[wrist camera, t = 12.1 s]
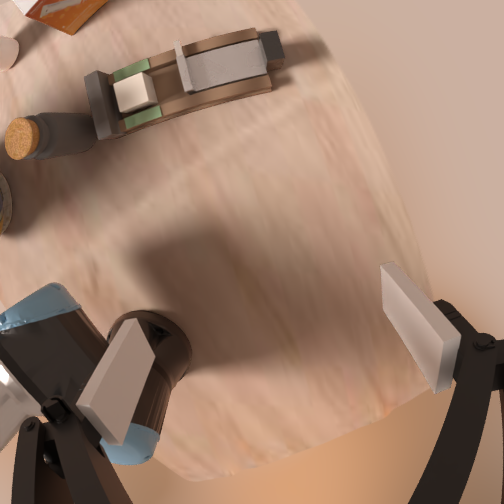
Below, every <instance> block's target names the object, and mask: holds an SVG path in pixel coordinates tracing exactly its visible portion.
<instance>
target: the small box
mask: <svg viewBox="0 0 504 504" xmlns="http://www.w3.org/2000/svg"><path fill="white" fill-rule="evenodd" d="M107 1H108V0H13V2H14V3H15V4H16V5H17V7H18V8H19V9H20V10H21V12H22V13H23V14H24V16H27V17H29V18H31V19H34V20H36V21H39V22H41V23H43V24H46V25H48V26H50V27H53V28H55V29H57V30H59V31H62V32H64V33H66V34H69V35H71V36H72V35H73V34H74V33H75V32H76V31H77V30H78V29H79V28H80V27H81V26H82V25H83V24H84V23H85V22H86V21H87V20H88V19H89V18H90V17H91V16H92V15H93V14H94V13H95V12H96V11H97V10H98V9H99V8H100V7H101V6H103V5H104V4H105V3H106V2H107Z"/></svg>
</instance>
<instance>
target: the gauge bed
mask: <svg viewBox="0 0 504 504" xmlns="http://www.w3.org/2000/svg"><path fill="white" fill-rule="evenodd" d="M253 40H258V36H257V33H256V29H255V28H250V29H245V30H241V31H236V32H232V33H228V34H224V35H220V36H216V37H213V38H209V39H205V40H202V41H198V42H195V43H192V44H189V45H185V46H182V49H183V53H184V55H185V56H186V58H188V57H191V56H195V55H198V54H201V53H205V52H208V51H212V50H215V49H219V48H223V47H227V46H231V45H235V44H239V43H244V42H248V41H253ZM176 57H177V56H176V52H175V49H173V50H170V51H167V52H164V53H162V54H159V55H156V56H153V57H151V58H147V59H144V60H142V61H139V62H137V63H134V64H132V65H129V66H127V67H125V68H122V69H120V70H118V71H116V72H113V73H112V74H110V75H109V74H106V73H103V72H100V71H95V72H93V73H91V74H89V75H87V76H85V77H84V80H85V85H86V90H87V94H88V99H89V103H90V108H91V112H92V116H93V120H94V124H95V128H96V132H97V136H98V140H104V139H117V138H120V137H122V136H125V135H127V134H130V133H133V132H135V131H138V130H141V129H143V128H146V127H149V126H152V125H154V124H157V123H160V122H163V121H166V120H169V119H172V118H175V117H178V116H181V115H184V114H187V113H191V112H194V111H197V110H201V109H204V108H207V107H211V106H215V105H218V104H222V103H226V102H229V101H233V100H237V99H241V98H245V97H250V96H254V95H258V94H263V93H267V92H271V91H272V90H271V87H272V85H271V81H270V77H269V75H267V76H262V77H257V78H253V79H249V80H244V81H240V82H236V83H232V84H228V85H224V86H221V87H217V88H213V89H210V90H206V91H203V92H200V93H196V94H193V95H189V94H188V93H186V92H185V91H184V87H183V83H182V80H181V76H180V72H179V68H178V64H177V60H176ZM141 72H143V73H144V74H146V75H148V76H150V77H152V81H153V85H154V89H155V93H156V97H157V101H158V104H156V105H153V106H150V107H147V108H145V109H142V110H139V111H137V112H134V113H132V114H131V113H123V112H120V111H119V107H118V102H117V98H116V94H115V90H114V85H113V84H114V83H117V82H119V81H121V80H124V79H126V78H128V77H131V76H133V75H136V74H138V73H141Z"/></svg>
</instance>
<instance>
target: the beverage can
mask: <svg viewBox="0 0 504 504" xmlns="http://www.w3.org/2000/svg"><path fill="white" fill-rule="evenodd" d="M18 52H19V44H18V42H17V41H16V40H15V39H12V38H8V37H4V36H0V72H4V71H6V70H8V69H9V68H10V67H11V66H12V65H13V64H14V62H15V60H16V58H17V56H18Z"/></svg>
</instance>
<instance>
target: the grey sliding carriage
mask: <svg viewBox="0 0 504 504" xmlns="http://www.w3.org/2000/svg"><path fill="white" fill-rule="evenodd" d="M173 44H174V48H175V52H176V56H177V57H176V60H177V64H178V68H179V72H180V76H181V80H182V83H183V87H184V91H185V92H186V93H188V94H189V95H193V94H196V93H200V92H203V91H206V90H210V89H213V88H217V87H221V86H224V85H228V84H232V83H236V82H240V81H244V80H249V79H253V78H257V77H262V76H267V71H270V70H275V69H280V68H281V67H282V64H283V62H284V59H285V56H284V53H283V49H282V46H281V43H280V39H279V36H278V33H277V30H276V31H271V32H265V33H260V34H259V43H258V40H253V41H248V42H244V43H239V44H235V45H231V46H227V47H223V48H219V49H215V50H212V51H208V52H205V53H201V54H198V55H195V56H191V57H188V58H186V56H185V55H184V53H183V49H182V45H181V41H180V40H176V41H173Z"/></svg>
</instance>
